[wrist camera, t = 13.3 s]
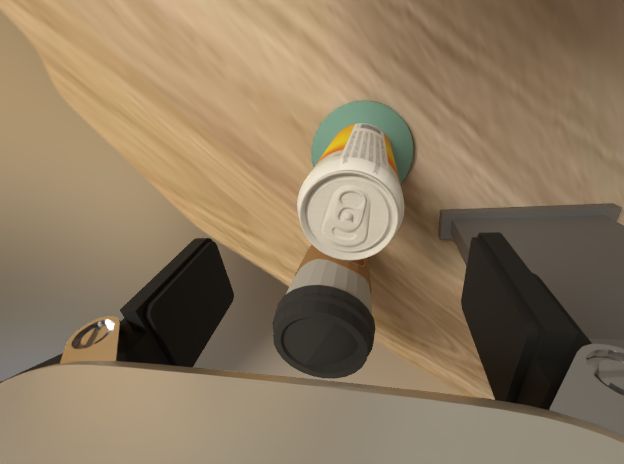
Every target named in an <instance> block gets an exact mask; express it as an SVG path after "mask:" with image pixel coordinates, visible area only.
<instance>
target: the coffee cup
mask: <svg viewBox="0 0 624 464" xmlns="http://www.w3.org/2000/svg"><path fill="white" fill-rule="evenodd" d="M370 294H371V285H370V273H369V263H368V258H365V259H360V260H341V259H336V258H333V257H330V256H328V255H326V254H324V253H322V252H321V251H319V250H318V249H317V248H315V247H314V246H313V245H311V247H310V248H309V249H308V251H307V253H306V255H305V257H304V259H303V260H302V262H301V264H300V266H299V268H298V270H297V272H296V274H295V277H294V280H293V281H292V283H291V285H290V287H289V289H288V291H287V293H286V295H284V297H283V298H282V299H281V301H280V302H279V303H278V306H277V309H276V314H275V317H274V321H273V332H274V335H273V336H274V345H275V347H276V349H277V352H278V353H279V354H280V355H281V357H282V358H283V359H284V360H285V361H286V362H287V363H288V364H289V365H291V366H292V367H294V368H296V369H297V370H299V371H301V372H303V373H306V374H309V375H312V376H316V377H321V378H340V377H346V376H348V375H351V374H353V373H355V372H356V371H358V370H359V369H360V368H362V366H363V365H364V363H365V362H366V360H367V356H368V355H369V353H370V352H371V350H372V346H373V341H374V334H375V323H374V318H373V316H372V310H371V296H370Z"/></svg>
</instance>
